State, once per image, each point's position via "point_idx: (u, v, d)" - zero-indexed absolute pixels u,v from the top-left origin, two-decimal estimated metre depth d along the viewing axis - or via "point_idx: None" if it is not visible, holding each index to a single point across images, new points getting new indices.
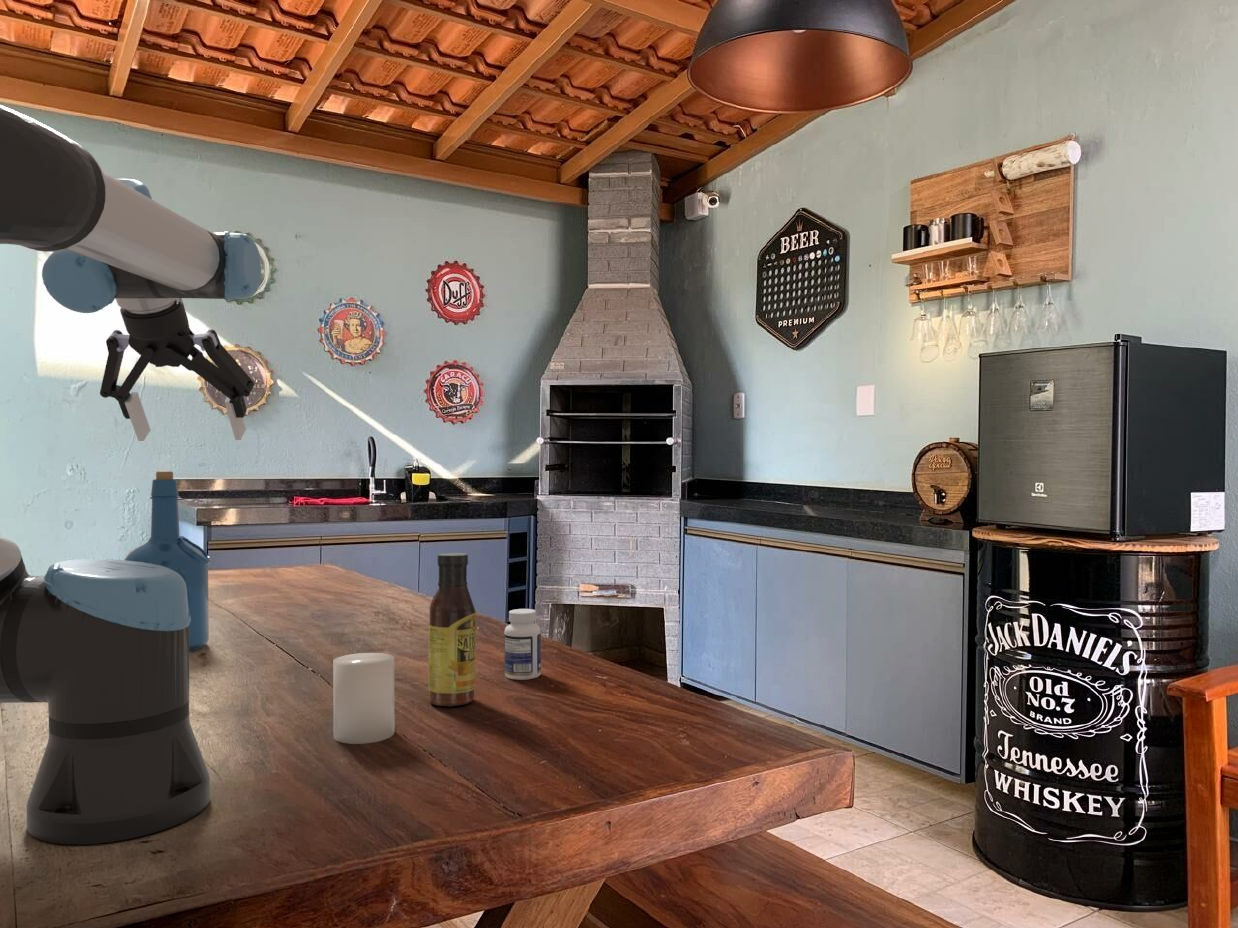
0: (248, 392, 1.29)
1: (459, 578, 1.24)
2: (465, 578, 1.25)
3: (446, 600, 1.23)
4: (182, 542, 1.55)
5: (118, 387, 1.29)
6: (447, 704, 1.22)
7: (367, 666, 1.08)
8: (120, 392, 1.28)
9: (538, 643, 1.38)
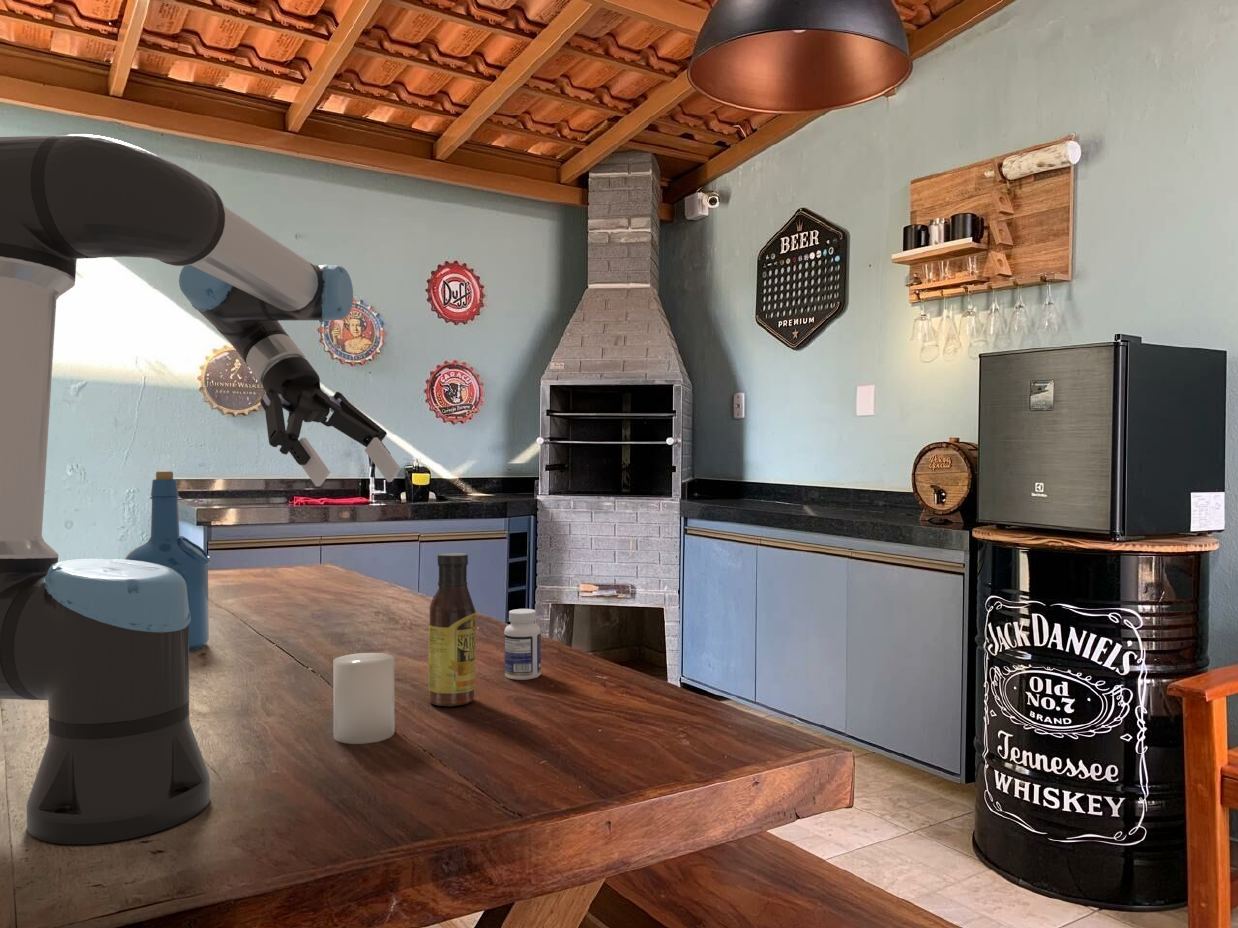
0: (385, 432, 1.41)
1: (459, 578, 1.24)
2: (465, 578, 1.25)
3: (446, 600, 1.23)
4: (182, 542, 1.55)
5: None
6: (447, 704, 1.22)
7: (367, 666, 1.08)
8: (294, 430, 1.26)
9: (537, 643, 1.38)
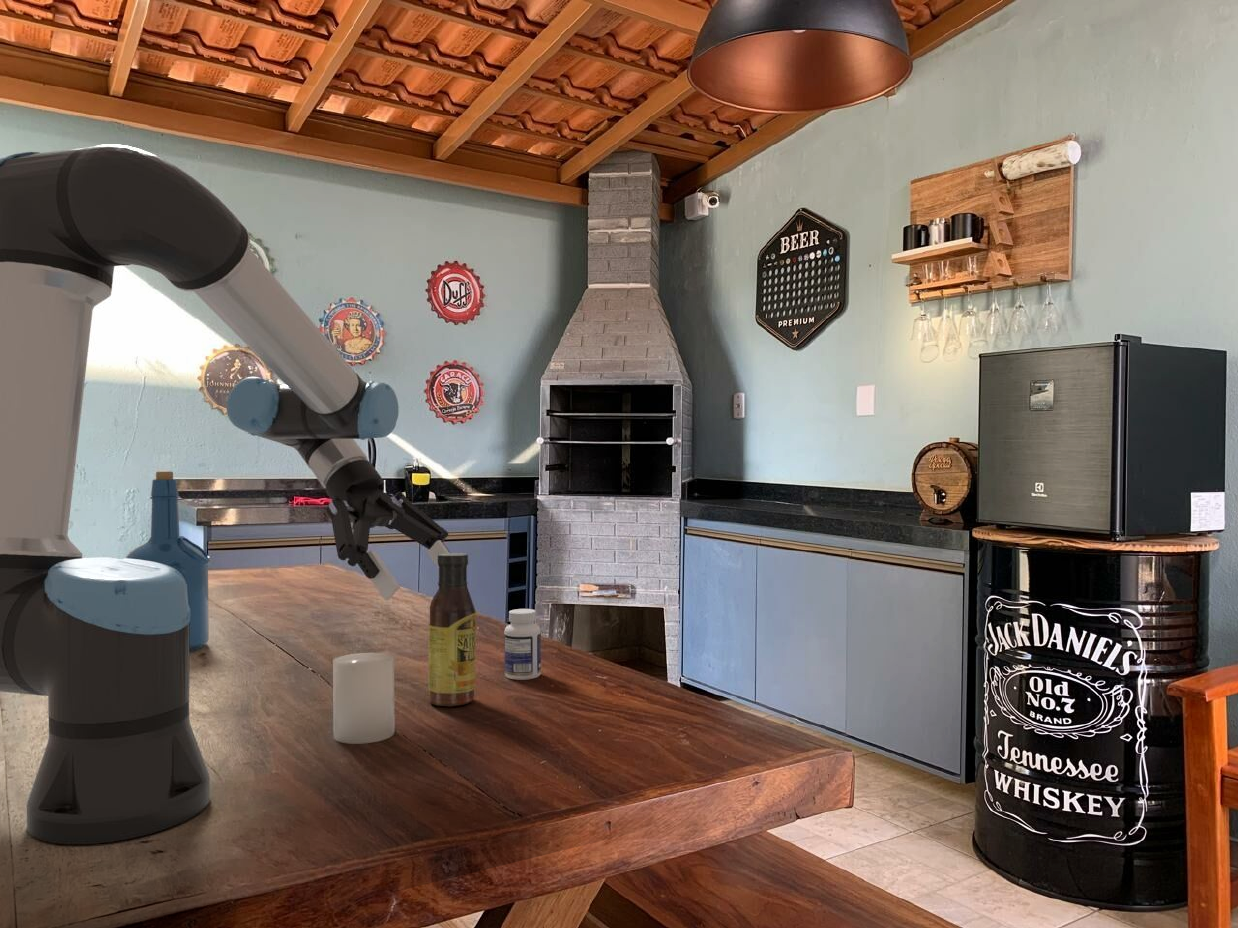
0: (446, 532, 1.39)
1: (459, 578, 1.24)
2: (465, 578, 1.25)
3: (446, 600, 1.23)
4: (182, 542, 1.55)
5: None
6: (447, 704, 1.22)
7: (367, 666, 1.08)
8: (362, 542, 1.24)
9: (537, 643, 1.38)
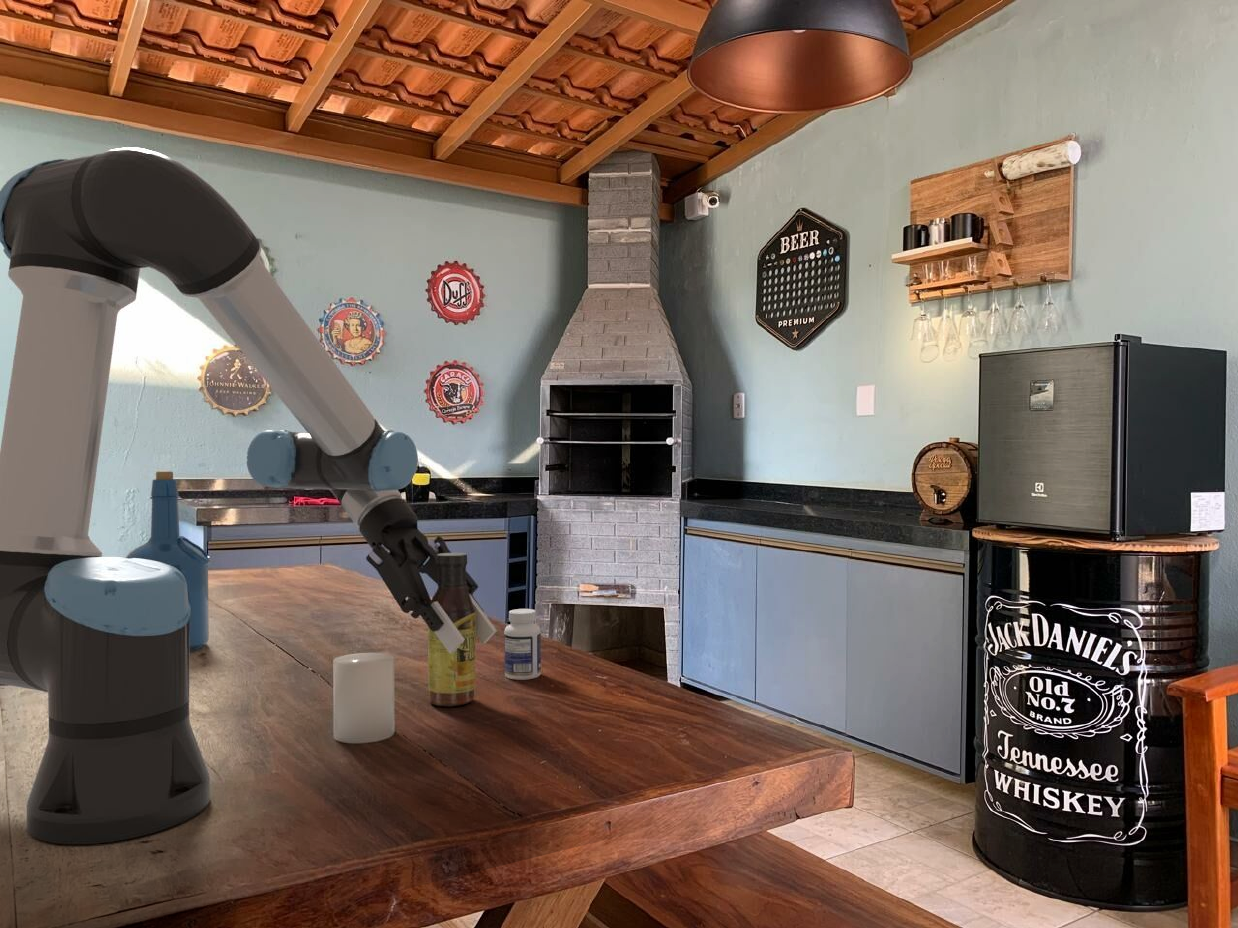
0: (476, 585, 1.31)
1: (458, 578, 1.23)
2: (464, 578, 1.25)
3: (445, 600, 1.22)
4: (182, 542, 1.55)
5: None
6: (447, 704, 1.22)
7: (367, 666, 1.08)
8: (423, 593, 1.22)
9: (537, 643, 1.38)
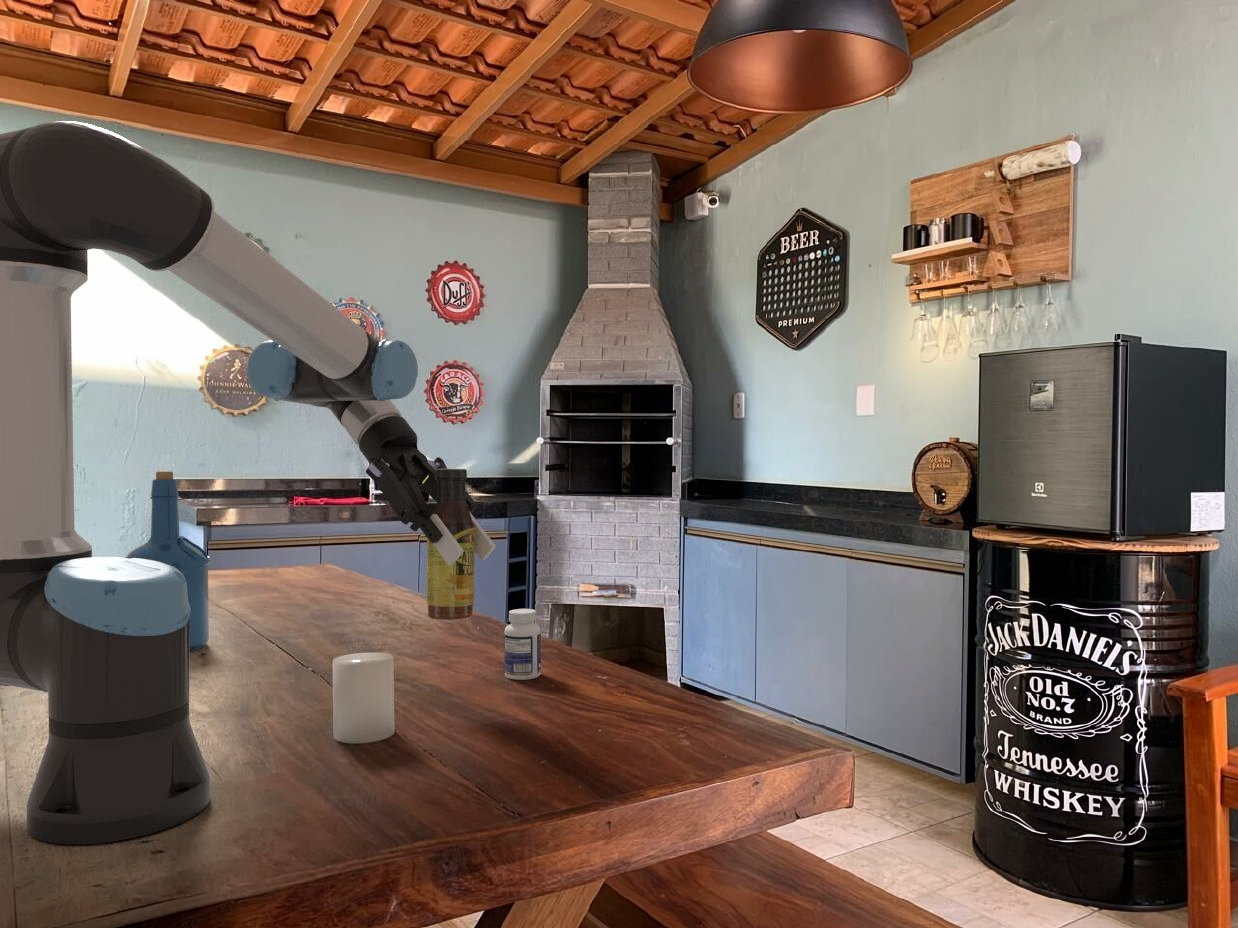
0: (476, 504, 1.31)
1: (457, 492, 1.23)
2: (464, 493, 1.24)
3: (444, 513, 1.22)
4: (182, 542, 1.55)
5: None
6: (445, 617, 1.22)
7: (367, 666, 1.08)
8: (422, 505, 1.21)
9: (538, 643, 1.38)
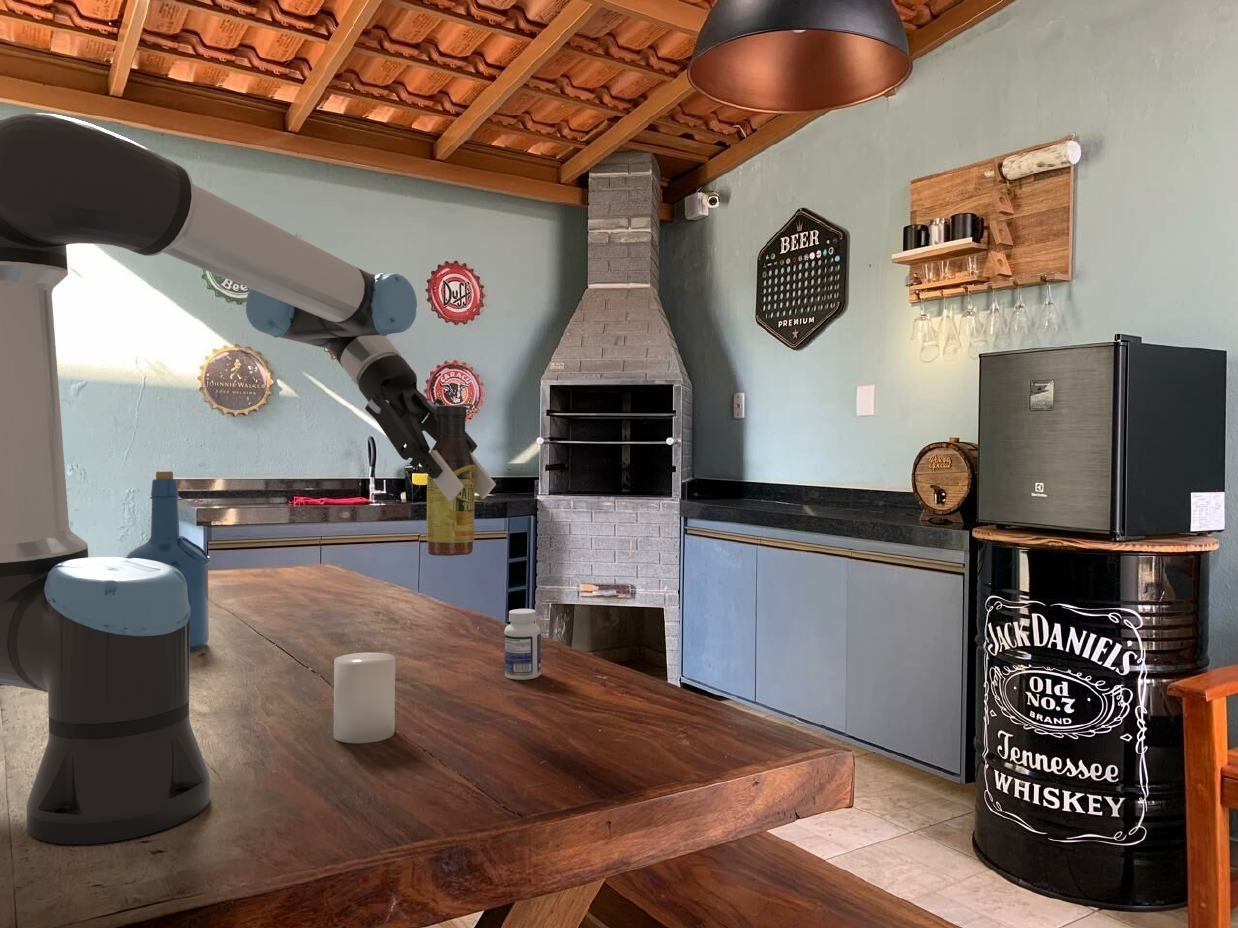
0: (476, 445, 1.31)
1: (457, 429, 1.23)
2: (464, 430, 1.24)
3: (444, 449, 1.22)
4: (182, 542, 1.55)
5: None
6: (446, 553, 1.21)
7: (369, 666, 1.08)
8: (422, 441, 1.21)
9: (537, 643, 1.38)
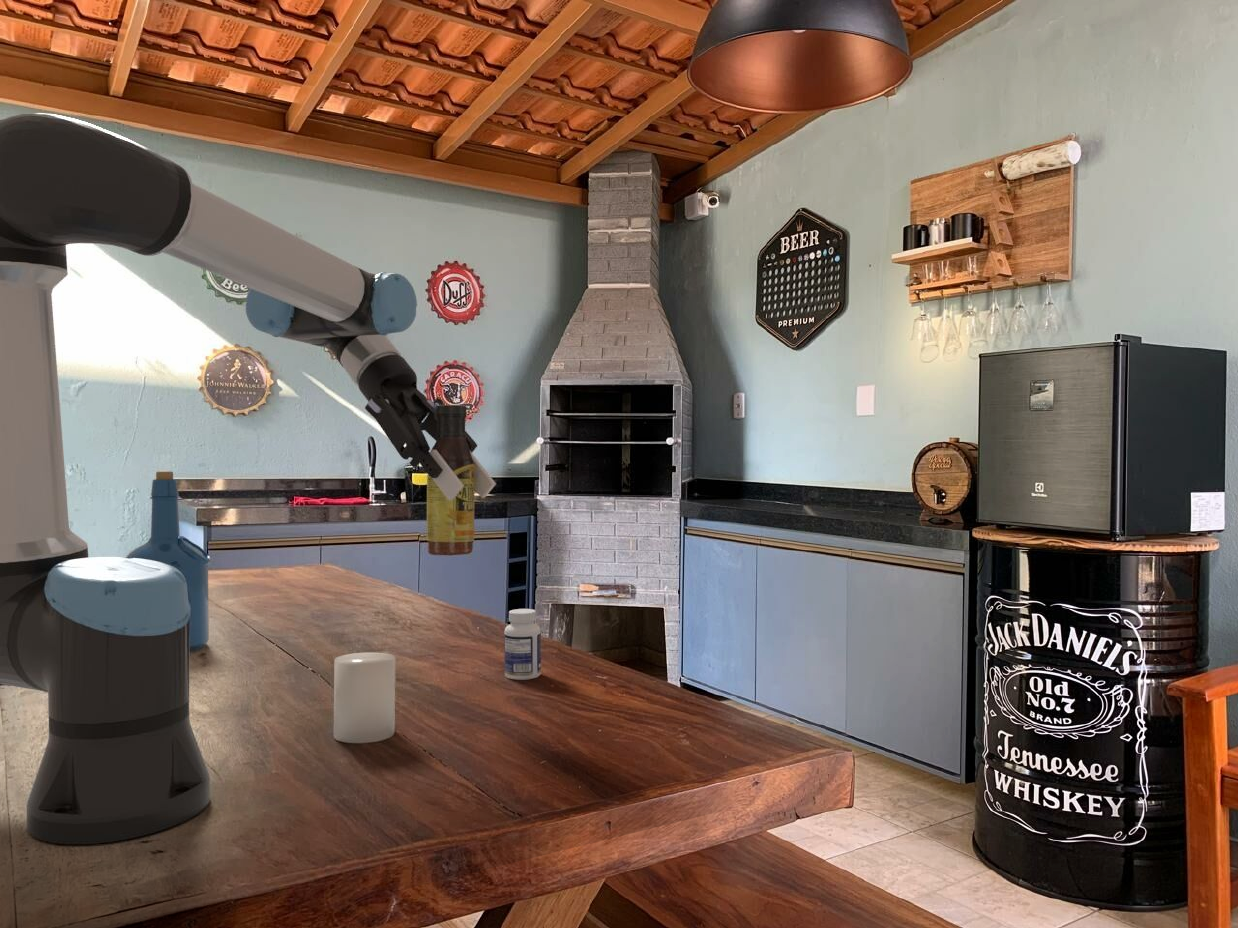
0: (476, 444, 1.31)
1: (457, 428, 1.23)
2: (464, 429, 1.24)
3: (444, 449, 1.22)
4: (182, 542, 1.55)
5: None
6: (446, 553, 1.21)
7: (370, 666, 1.08)
8: (422, 441, 1.21)
9: (537, 643, 1.38)
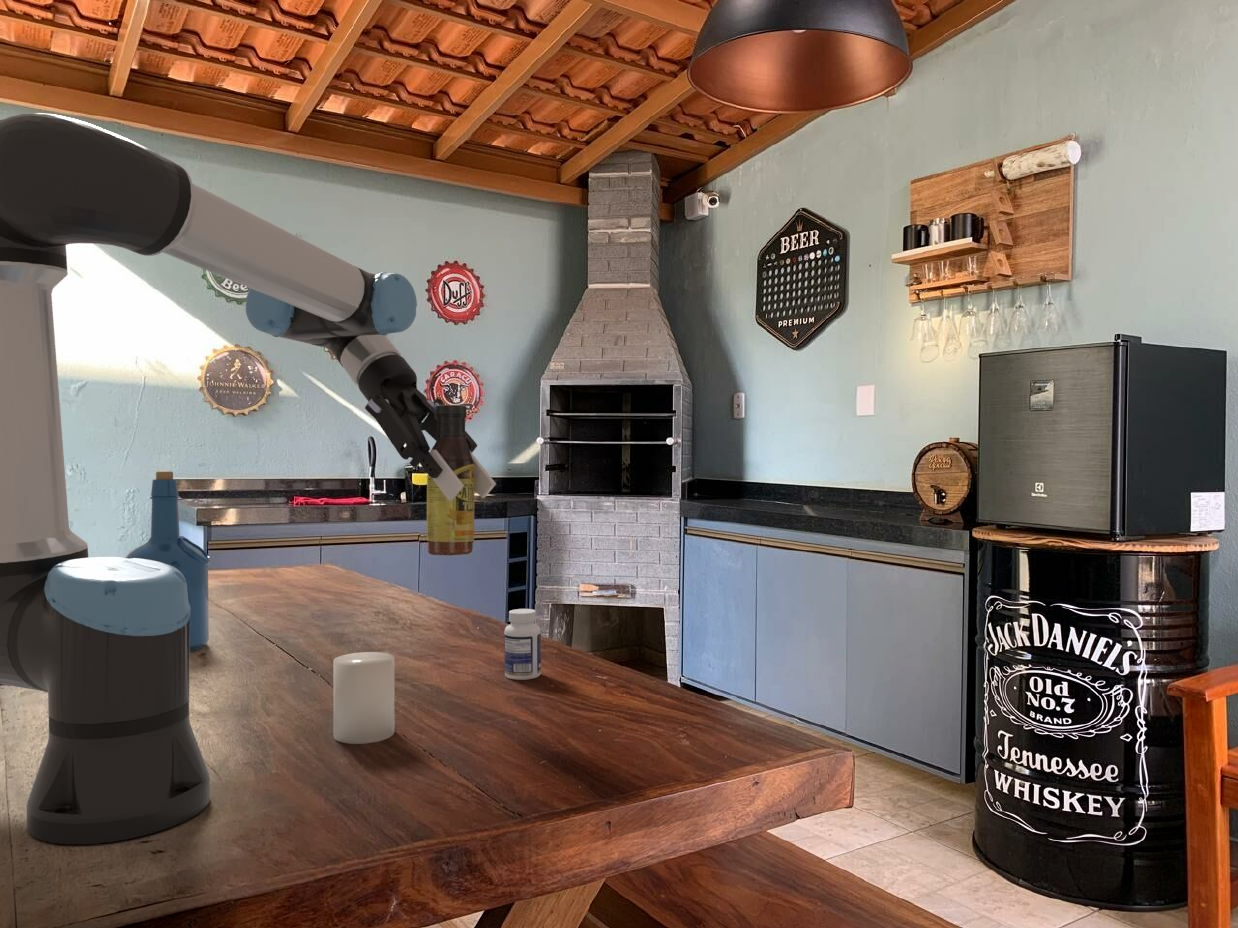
0: (476, 444, 1.31)
1: (457, 428, 1.23)
2: (464, 429, 1.24)
3: (444, 449, 1.22)
4: (182, 542, 1.55)
5: None
6: (446, 553, 1.21)
7: (369, 667, 1.08)
8: (422, 441, 1.21)
9: (538, 643, 1.38)
